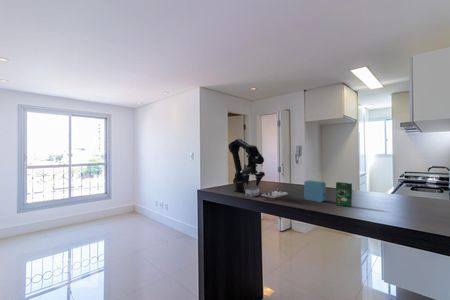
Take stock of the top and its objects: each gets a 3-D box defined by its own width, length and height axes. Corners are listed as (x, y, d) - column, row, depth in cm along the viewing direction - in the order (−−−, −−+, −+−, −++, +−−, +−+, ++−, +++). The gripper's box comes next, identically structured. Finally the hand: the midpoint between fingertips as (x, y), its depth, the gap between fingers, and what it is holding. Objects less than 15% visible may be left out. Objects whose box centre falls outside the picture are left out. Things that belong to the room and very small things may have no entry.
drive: (245, 196, 156) (245, 189, 156) (253, 194, 164) (253, 187, 164) (251, 197, 153) (251, 190, 153) (259, 194, 161) (259, 188, 161)
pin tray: (261, 195, 156) (261, 191, 156) (276, 192, 167) (275, 188, 167) (273, 198, 148) (273, 193, 148) (287, 194, 159) (287, 189, 159)
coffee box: (352, 206, 125) (352, 182, 125) (351, 207, 122) (351, 183, 122) (336, 204, 129) (336, 181, 129) (335, 205, 127) (335, 182, 127)
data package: (326, 201, 138) (325, 181, 138) (322, 202, 135) (322, 182, 135) (307, 198, 147) (307, 179, 147) (304, 199, 144) (303, 180, 144)
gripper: (234, 163, 160) (234, 185, 160) (254, 164, 146) (254, 188, 146) (245, 162, 168) (245, 183, 168) (265, 163, 154) (265, 186, 154)
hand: (252, 185), depth 159 cm, fingers open, 9 cm apart
